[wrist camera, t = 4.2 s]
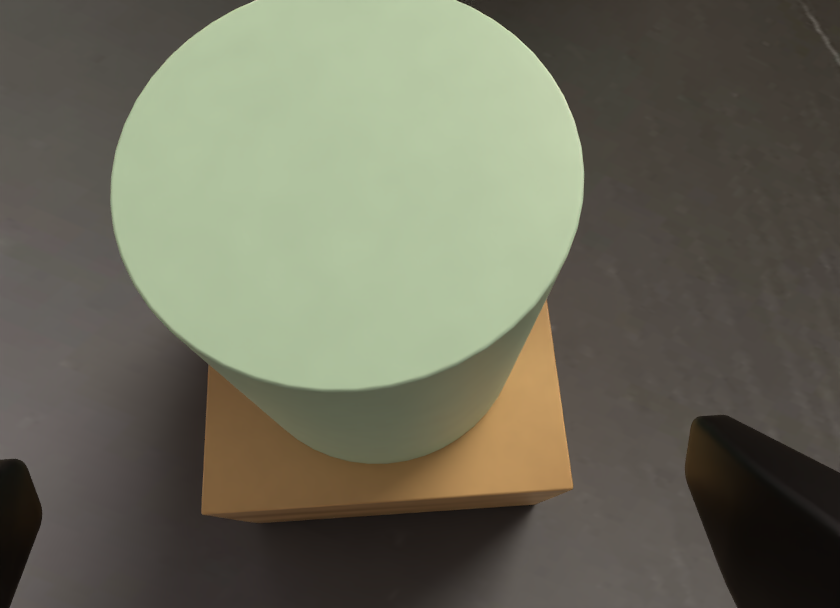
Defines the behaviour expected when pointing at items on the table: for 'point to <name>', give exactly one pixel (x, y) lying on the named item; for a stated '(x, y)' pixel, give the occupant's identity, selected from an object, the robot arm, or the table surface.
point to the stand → (395, 482)
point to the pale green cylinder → (351, 213)
